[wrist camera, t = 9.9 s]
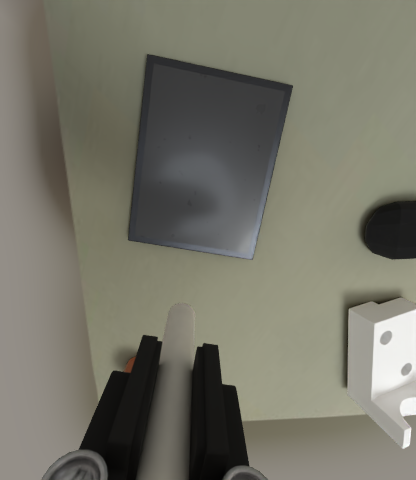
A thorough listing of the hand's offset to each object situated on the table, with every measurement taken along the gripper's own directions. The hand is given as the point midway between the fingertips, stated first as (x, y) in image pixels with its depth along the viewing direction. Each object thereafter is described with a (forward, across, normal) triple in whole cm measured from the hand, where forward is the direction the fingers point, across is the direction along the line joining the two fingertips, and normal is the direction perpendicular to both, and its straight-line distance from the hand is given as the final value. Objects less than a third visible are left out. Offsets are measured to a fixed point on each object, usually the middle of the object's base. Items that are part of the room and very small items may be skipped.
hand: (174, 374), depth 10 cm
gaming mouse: (+21, -26, -6) cm, 34 cm away
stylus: (+5, 0, 0) cm, 5 cm away
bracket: (+21, -26, +10) cm, 35 cm away
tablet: (+21, 0, -8) cm, 22 cm away
